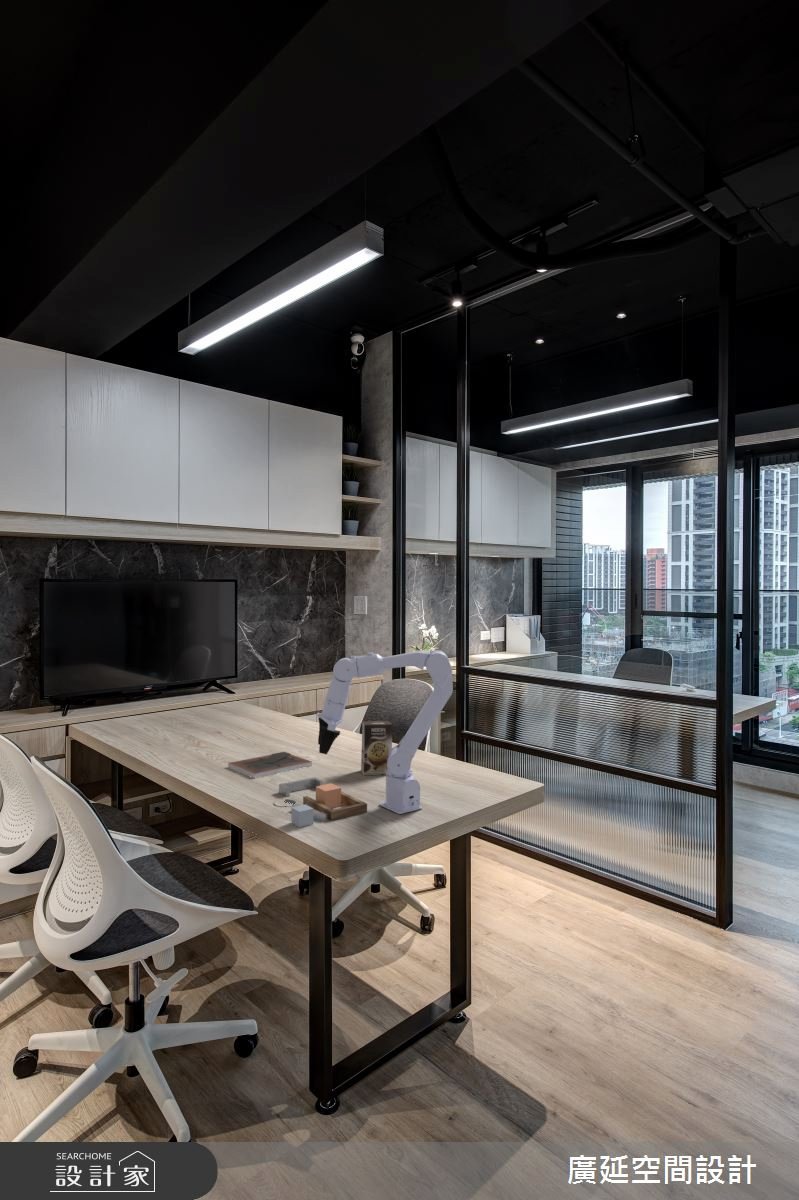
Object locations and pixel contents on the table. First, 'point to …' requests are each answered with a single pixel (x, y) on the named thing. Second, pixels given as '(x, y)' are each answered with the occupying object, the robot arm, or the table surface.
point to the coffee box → (375, 746)
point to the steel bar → (318, 814)
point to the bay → (352, 809)
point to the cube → (329, 795)
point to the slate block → (302, 815)
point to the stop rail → (299, 785)
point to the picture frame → (269, 764)
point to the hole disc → (290, 801)
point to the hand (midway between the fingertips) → (322, 748)
